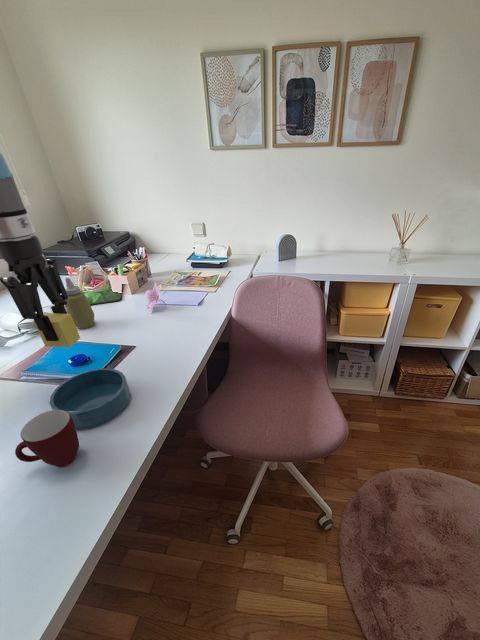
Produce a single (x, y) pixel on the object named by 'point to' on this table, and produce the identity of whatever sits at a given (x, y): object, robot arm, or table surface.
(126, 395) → the bowl
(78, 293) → the squeeze bottle
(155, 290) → the lily
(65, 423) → the mug
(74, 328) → the sponge
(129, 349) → the table surface
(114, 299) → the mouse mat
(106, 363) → the table surface
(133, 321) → the table surface
